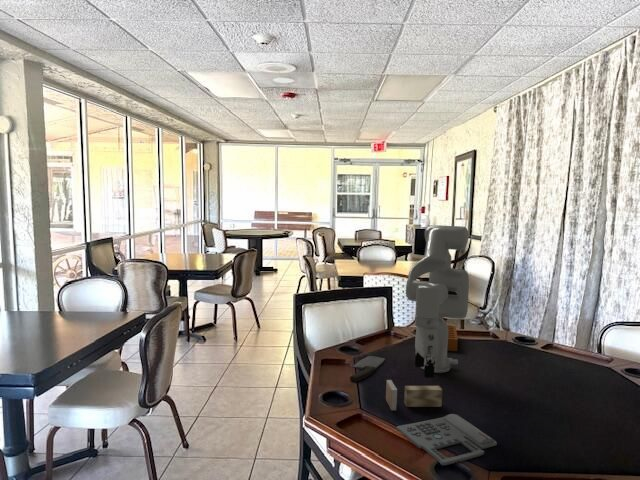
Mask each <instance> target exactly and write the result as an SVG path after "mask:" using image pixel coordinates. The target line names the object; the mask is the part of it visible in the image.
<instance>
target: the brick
mask: <svg viewBox="0 0 640 480" xmlns="http://www.w3.org/2000/svg"><path fill="white" fill-rule="evenodd" d="M447 326H448V344H447V351H451V352H458V342H459V341H458V340H459V339H458V338H459V337H458V333H457V332H458V331H457V327H456V325H451V324H449V325H448V324H447Z"/></svg>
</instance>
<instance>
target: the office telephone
mask: <svg viewBox="0 0 640 480" xmlns="http://www.w3.org/2000/svg"><path fill="white" fill-rule="evenodd" d="M396 430H397V431H398V430H399V431H400V432H401V433H402V434H401V433H400V432H399V431H398V432H399V433H400V434H401V435H402V436H404V435H405V436H406V437H407V438H408V441H410V442H411V443H412V445H414V446H416V447H417V448H419V449H423V450H424V451H425V452H427V453H428V454H429V455H430V456H432V457H433V458H434V459H435V460H436V459H437V460H438V462H439V463H440V465H441V466H447V465H452V464H456V463H458V462H457V461H460V462H463V461H466V460H470V459H473V458H478V457H481V456H483V455H485V450H483V449H488V448H491V447H492V448H493V447H495V446H497V445H498V443H497V440H495V439H493V437H490V436H489V435H488V434H486V433H485V432H483V431H482V430H480V428H477V427H476V426H474V425H473V424H472V423H470V422H469V421H467V420H466V419H464V418H463V417H461V416H460V415H459V414H455V413H449V414H446V415H445V416H442V417H437V418H434V419H428V420H424V421H417V422H412V423H407V424H402V425H398V426H397V425H396ZM405 436H404V437H405ZM406 437H405V438H406ZM407 438H406V439H407ZM458 444H461V445H463V446H464V447H466V448H467V449H468V450H469V451H471V452H467V453H463V454H459V455H455V456H452V457H446V456H445V455H444V454H442V453H441V452H440V451H438V449H442V448H447V447H449V446H453V445H458ZM437 460H436V461H437ZM455 462H456V463H455Z"/></svg>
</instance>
